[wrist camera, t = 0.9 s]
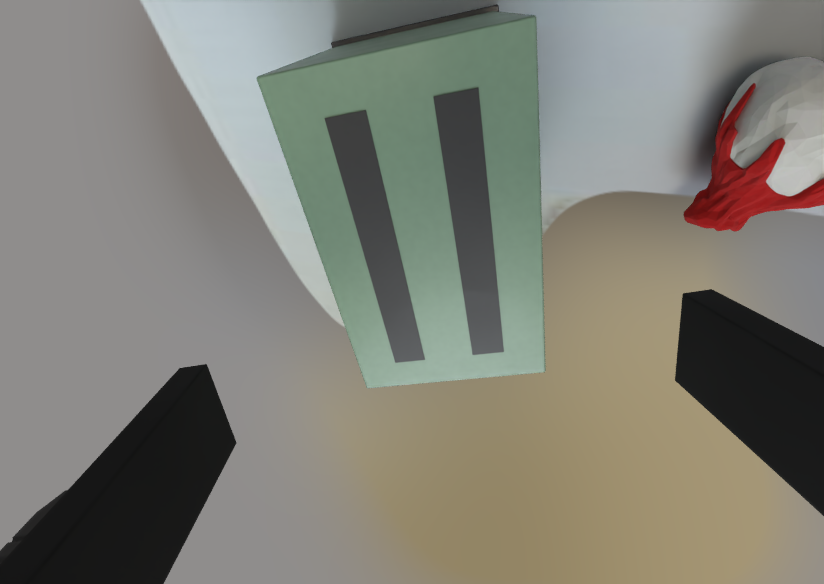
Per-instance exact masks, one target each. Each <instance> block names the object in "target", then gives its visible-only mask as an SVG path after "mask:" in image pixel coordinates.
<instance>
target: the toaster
mask: <svg viewBox="0 0 824 584" xmlns="http://www.w3.org/2000/svg"><path fill="white" fill-rule="evenodd" d="M331 45H332V49H329V50H326V51H324V52H321V53H318V54H316V55H313V56H310V57H308V58H305V59H303V60H300V61H297V62H295V63H292V64H289V65H287V66H284V67H281V68H279V69H276V70H273V71H271V72H268V73H265V74H263V75H260V76H258V77H257V81H258V84H259V86H260V89H261V92H262V95H263V98H264V100H265V103H266V106H267V109H268V112H269V115H270V117H271V120H272V123H273V126H274V129H275V131H276V134H277V137H278V140H279V143H280V145H281V148H282V151H283V154H284V157H285V159H286V162H287V165H288V168H289V171H290V173H291V176H292V179H293V182H294V185H295V188H296V190H297V193H298V196H299V199H300V202H301V204H302V207H303V210H304V213H305V216H306V218H307V221H308V224H309V227H310V230H311V232H312V235H313V238H314V241H315V244H316V246H317V249H318V252H319V255H320V258H321V261H322V263H323V266H324V269H325V272H326V275H327V277H328V280H329V283H330V286H331V289H332V291H333V294H334V297H335V300H336V303H337V305H338V308H339V311H340V314H341V317H342V319H343V322H344V325H345V328H346V330H347V333H348V336H349V339H350V342H351V345H352V348H353V350H354V353H355V356H356V359H357V361H358V364H359V367H360V370H361V373H362V376H363V378H364V381H365V384H366V387H367V388H376V387H387V386H398V385H408V384H419V383H430V382H442V381H453V380H463V379H474V378H486V377H496V376H507V375H519V374H529V373H540V372H545V370H546V369H545V332H544V331H545V330H544V292H543V254H542V215H541V177H540V139H539V101H538V63H537V24H536V16H534V15H525V14H515V13H505V12H499V7H498V5H493V6H489V7H484V8H480V9H476V10H471V11H467V12H462V13H458V14H454V15H449V16H445V17H441V18H436V19H432V20H427V21H423V22H419V23H414V24H410V25H405V26H401V27H397V28H392V29H388V30H384V31H379V32H375V33H370V34H366V35H362V36H357V37H353V38H348V39H344V40H340V41H335V42H332V43H331Z"/></svg>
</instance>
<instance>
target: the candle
mask: <svg viewBox="0 0 824 584" xmlns="http://www.w3.org/2000/svg"><path fill="white" fill-rule="evenodd" d="M715 142H716V151H715V153H714V156H713V159H712V165H711V171H712V178H711V181H710V183H709V185H708V187H707V188H706V189H705V190H702V191H700V192H699V193H698V194H697V195H696V197H695V199H694V202H693V203H692V204H691V205H690V206H689V207H688V209H686V211H685V212H684V218H685V220H686V221H687V222H688V223H691V224H694V225H697V226H700V227H704V228H714V229H716V230H717V231H722V230H728V229H731V230H732V231H738V230H740V229H741V228H742V227H743V226H744V224H745V223H746V222H747V220H748V219H749V218H750V217H751V216H754V215H757V214H760V213H763V212H767V211H778V210H784V209H798V208H810V207H815V206H820V205H824V62H823V61H821V60H818V59H815V58H812V57H798V58H792V59H787V60H783V61H779V62H776V63H773V64H769V65H767V66H765V67H763V68H761V69H759V70H757V71H756V72H754V73H753V74H752V75H750V76H749V77H748V78H747V79H746V80H745V81H744V83H743V84H742V85H741V86H740V87H739V88H738V89H737V91H736V93H735V95H734V97H733V98H732V100H731V101H730V102H729V103H728V105H727V106H726V108H725V110H724V112H723V114H722V117H721V119H720V120H719V124H718V130H717V135H716V138H715Z"/></svg>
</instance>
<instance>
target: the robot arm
mask: <svg viewBox="0 0 824 584" xmlns="http://www.w3.org/2000/svg"><path fill="white" fill-rule="evenodd" d="M675 381H676V382H677V383H679V384H680V385H681V386H682V387H683V388H684V389H685V390H686V391H688V393H690V394H691V395H692V396H693V397H694V398H695V399H696V400H697V401H698V402H699V403H701V404H702V405H703V406H704V407H705V408H706V409H707V410H708V411H709V412H710V413H712V414H713V415H714V416H715V417H716V418H717V419H718V420H719V421H720V422H722V424H723V425H725V426H726V427H727V428H728V429H729V430H730V431H731V432H732V433H733V434H734V435H736V436H737V437H738V438H739V439H740V440H741V441H742V442H743V443H744V444H745V445H746V446H748V447H749V448H750V449H751V450H752V451H753V452H754V453H755V454H756V455H757V456H759V457H760V458H761V459H762V460H763V461H764V462H765V463H766V464H767V465H768V466H770V467H771V468H772V469H773V470H774V471H775V472H776V473H777V474H778V475H779V476H780V477H782V478H783V479H784V480H785V481H786V482H787V483H788V484H789V485H790V486H791V487H793V488H794V489H795V490H796V491H797V492H798V493H799V494H800V495H801V496H802V497H803V498H805V499H806V500H807V501H808V502H809V503H810V504H811V505H812V506H813V507H814V508H816V509H817V510H818V511H819V512H820V513H821V514H822V515H823V516H824V347H822V346H821V345H819V344H817V343H815V342H813V341H811V340H809V339H807V338H805V337H803V336H801V335H799V334H797V333H795V332H793V331H792V330H790V329H788V328H786V327H784V326H782V325H780V324H778V323H776V322H774V321H772V320H770V319H768V318H766V317H764V316H762V315H760V314H759V313H757V312H755V311H753V310H751V309H749V308H747V307H745V306H743V305H741V304H739V303H737V302H735V301H733V300H731V299H729V298H727V297H726V296H724V295H722V294H720V293H718V292H715V291H714V290H712V289H710V290H704V291H698V292H691V293H684V294H683V298H682V309H681V320H680V331H679V342H678V353H677V364H676V376H675ZM235 445H236V441H235V438H234V435H233V433H232V430H231V428H230V425H229V422H228V419H227V417H226V414H225V411H224V409H223V406H222V404H221V401H220V399H219V396H218V393H217V390H216V388H215V385H214V382H213V380H212V377H211V375H210V372H209V369H208V367H207V365H206V364H205V365H198V366H191V367H184V368H180V369H179V370H178V371H177V372H176V373H175V374H174V375H173V376H172V377H171V378H170V379H169V380H168V382H167V383H166V384H165V385H164V386H163V387H162V388H161V389H160V390H159V391H158V393H157V394H156V395H155V396H154V397H153V398H152V399H151V400H150V401H149V402H148V404H146V406H145V407H144V408H143V409H142V410H141V411H140V412H139V413H138V415H136V417H135V418H134V419H133V420H132V421H131V422H130V423H129V424H128V425H127V426H126V427H125V429H124V430H123V431H122V432H121V433H120V434H119V435H118V436H117V437H116V438H115V439H114V441H113V442H112V443H111V444H110V445H109V446H108V447H107V448H106V449H105V450H104V451H103V453H102V454H101V455H100V456H99V457H98V458H97V459H96V460H95V461H94V462H93V463H92V465H91V466H90V467H89V468H88V469H87V470H86V471H85V472H84V473H83V474H82V476H81V477H80V478H79V479H78V480H77V481H76V482H75V483H74V484H73V485H72V486H71V487H70V489H69V490H67V491H64V492H63V493H62V494H60V495H59V496H58V497H56V498H55V499H54V500H52V501H51V502H50V503H49V504H47V505H46V506H45V507H43V508H42V509H41V510H39V511H38V512H37V513H36V514H35V515H34V516H33V517H32V518H31V519H30V520H29V521H28V522H27V523H26V524H25V525H24V526H23V527H22V528H21V529H20V530H19V532H18V533H17V534H16V535H15V536H14V537H13V541H12V542H10V543H7V544H6V545H5V546H4V547H3V548H2V550H1V551H0V584H164V582H165V580H166V578H167V576H168V574H169V572H170V570H171V568H172V566H173V564H174V562H175V560H176V558H177V557H178V554H179V553H180V551H181V549H182V546H183V545H184V543H185V541H186V539H187V537H188V535H189V533H190V531H191V530H192V527H193V526H194V524H195V522H196V520H197V518H198V516H199V514H200V512H201V510H202V508H203V506H204V504H205V502H206V501H207V499H208V497H209V495H210V493H211V491H212V489H213V487H214V485H215V483H216V481H217V479H218V477H219V475H220V474H221V472H222V470H223V468H224V466H225V464H226V462H227V460H228V458H229V456H230V454H231V452H232V450H233V448H234V446H235Z"/></svg>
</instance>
